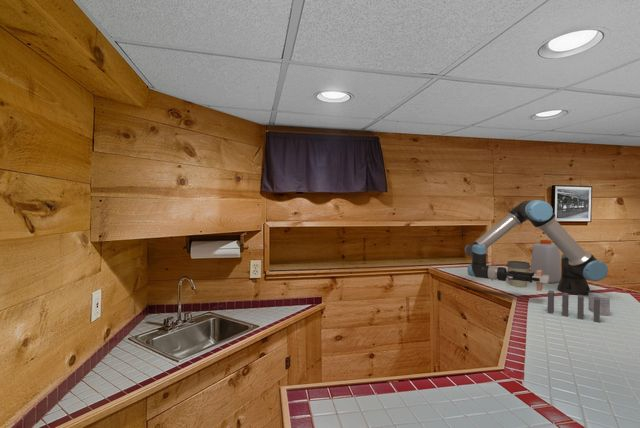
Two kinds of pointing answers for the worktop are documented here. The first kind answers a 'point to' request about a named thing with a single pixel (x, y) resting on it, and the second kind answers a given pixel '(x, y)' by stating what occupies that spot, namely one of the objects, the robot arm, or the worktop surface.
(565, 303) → the domino
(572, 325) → the worktop surface
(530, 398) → the worktop surface
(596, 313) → the domino
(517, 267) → the reusable coffee cup
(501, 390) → the worktop surface
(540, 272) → the terracotta domino
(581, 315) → the domino
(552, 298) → the domino
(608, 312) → the medicine box
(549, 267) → the plastic bottle
